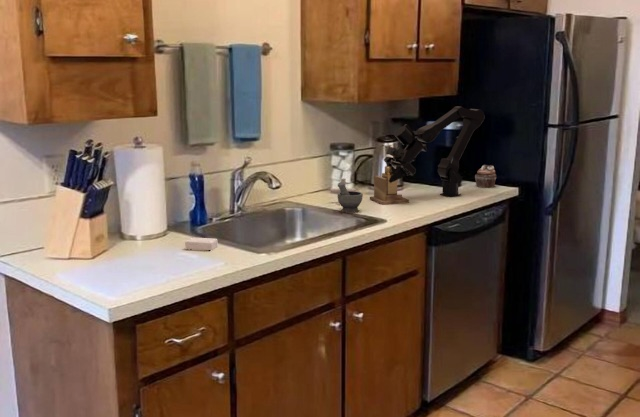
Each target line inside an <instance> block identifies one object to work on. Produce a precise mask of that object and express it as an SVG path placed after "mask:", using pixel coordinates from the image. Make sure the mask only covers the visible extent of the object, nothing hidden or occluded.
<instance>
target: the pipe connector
mask: <svg viewBox="0 0 640 417" xmlns="http://www.w3.org/2000/svg"><path fill="white" fill-rule="evenodd" d="M340 179H341V180H340V182H344V183H345V187H346V189H347V191H356V192H357V189H356V188H347V186H346V178H345V177H344V178H343V177H342V178H340ZM339 192H341V191H340V189H339V188H330V193H331V194H338V193H339Z"/></svg>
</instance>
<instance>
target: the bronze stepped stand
mask: <svg viewBox="0 0 640 417" xmlns="http://www.w3.org/2000/svg"><path fill="white" fill-rule="evenodd" d="M373 178H374V179H373V180H374V181H373V195H374V196H373V195H372V196H369V201H371V202H372V201H373V202H375V203H377V204H380V205H381V206H384V205H386V206H387V205H397V204H406V203H409V202H410V199H408V198H405V197H404V196H403V194H397V195H388V196H387V179H385V178H382V176H379V175H373Z"/></svg>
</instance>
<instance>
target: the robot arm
mask: <svg viewBox="0 0 640 417" xmlns="http://www.w3.org/2000/svg"><path fill="white" fill-rule="evenodd" d="M485 117H486V115H485V112H484V111H483V110H482V109H478V108H477V109H476V108H466V107H463V106H456V105H455V106H454V107H453V108H452V109H451V110H449V111H448V112H446V113H445V114H443V115H442V116H440V117H439V118H438V119H436V120H435V121H434V122H431V123H430V124H426V125H424V126H422V127H419V128H418V129H416V131H415V130H412V128H411V127H410V126H409V124H406V123H405V124H404V125H402V126H400V127H399V128H398V129H395V132H394V134H393V135H394V137H395V138H396V139H397V141H399V142H400V143H401V144H402V145H403V146H405V148H401V147H400V146H397V147H392V146H388V147H387V150H386V153H385V154H386V155H390V156H385V158H384V159H383V161H384V163H385V164H386V166H391V167H392V173H394V174H393V175H392V177H391V178H390V180H389V182H390V183H392V182H394V181H396V180H397V181H398V180H400V179H403V178H405V177H407V176H415V174H416V172H417V168H416V167H415V166H414V165H413V164H411V163H412V162H416V161H417V159H416V158H417V156H418V155H419V154H420V153H421V152H428V148H427V144H428V143H432V142H433V141H434V140H435V139H436V138H437V137H438V135H439V134H440V132H441V131H443V130H444V129H445V128H447V127H448V126H450V125H451V124H453V123H454V122H455V121H456V120H458V119H460V118H462V119H463V120H462V121H463V122H462V128H461V131H460V132H459V135H458V136H457V138H456V140H455V142H454V144H453V146H452V149H451V150H450V152H449V154H448V156H447V157H446V158H443V157H442V158H441V159H440V162H439V164H438V165H437V167H438V168H437V174H438V176H439V177H440V180H441V181H442V182H443V183H442V191H441V192H442V193H439V194H440V196H445V197H450V198H453V197H458V196H459V197H460V196H461V195H462V194H461V193H459V186H460V184H459V183H461V182H462V180H463V177H462V175H461V174H460V173H459V169H460V160H461V157H462V155H463V154H464V151H465V149H466V148H467V145H468V143H469V142H470V140H471V137H472V135H473V133H474V131H475V130H477V129H478V128H479V127H480V126H481V125H482V123H483V122H484V120H485V119H486V118H485ZM422 142H423V143H427V144H423V143H422Z"/></svg>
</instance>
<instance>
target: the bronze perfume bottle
mask: <svg viewBox="0 0 640 417" xmlns="http://www.w3.org/2000/svg"><path fill="white" fill-rule="evenodd" d="M393 174H394V173H392V167H391V166H387V165H386V166H384V172H383V173H382V172H381V177H382V178H385V179H387V196H388V195H398V180H396V181H394V182H392V183H390V182H389V180H390V178H391V177H392V175H393Z"/></svg>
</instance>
